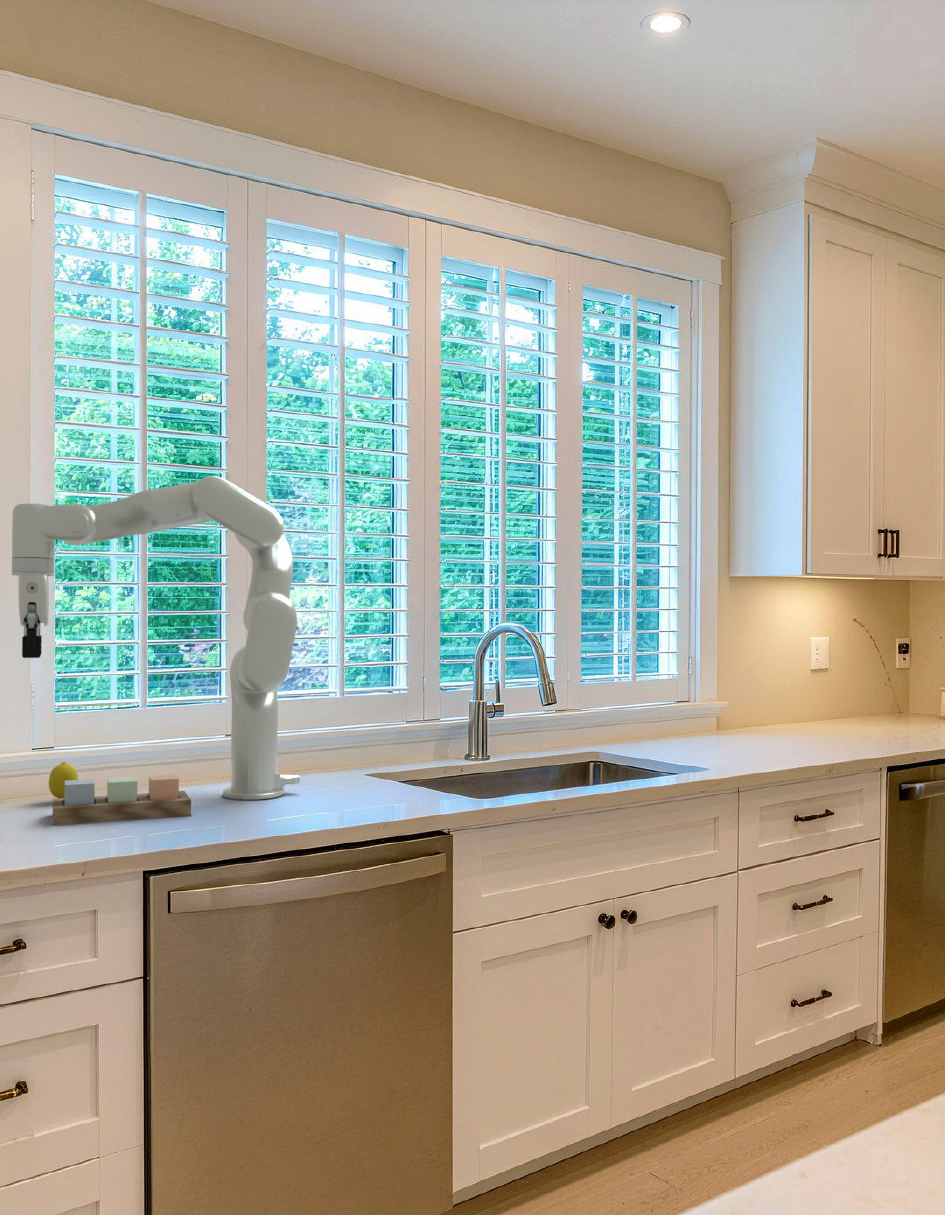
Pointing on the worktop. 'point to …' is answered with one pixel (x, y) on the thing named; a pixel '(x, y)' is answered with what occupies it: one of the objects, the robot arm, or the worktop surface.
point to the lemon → (61, 779)
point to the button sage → (121, 789)
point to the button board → (120, 809)
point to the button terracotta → (163, 787)
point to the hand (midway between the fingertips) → (31, 656)
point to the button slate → (79, 792)
